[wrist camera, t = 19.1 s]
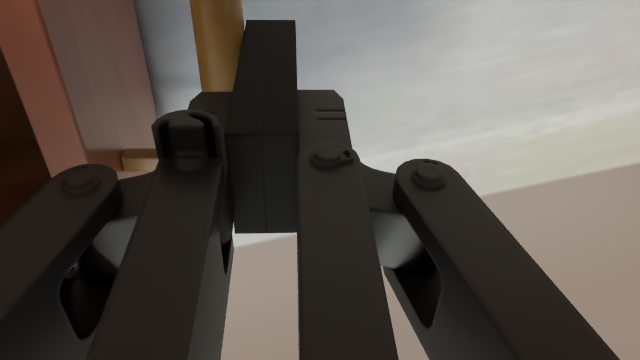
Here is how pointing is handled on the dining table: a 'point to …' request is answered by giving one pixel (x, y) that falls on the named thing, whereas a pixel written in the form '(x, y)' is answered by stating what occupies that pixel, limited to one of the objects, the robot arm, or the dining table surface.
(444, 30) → the dining table surface
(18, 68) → the drawer
